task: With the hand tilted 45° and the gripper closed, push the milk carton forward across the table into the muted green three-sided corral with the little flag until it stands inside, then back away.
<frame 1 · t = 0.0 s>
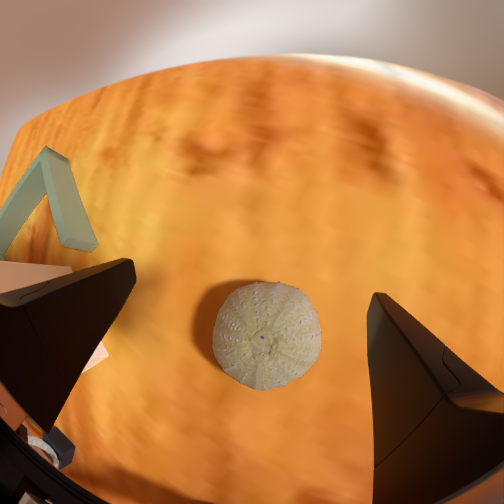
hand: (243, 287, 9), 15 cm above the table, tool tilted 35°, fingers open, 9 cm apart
watch: (64, 444, 26), on the table
sea urchin shell: (269, 332, 24), on the table
corral: (38, 260, 30), on the table
milk: (64, 329, 28), on the table
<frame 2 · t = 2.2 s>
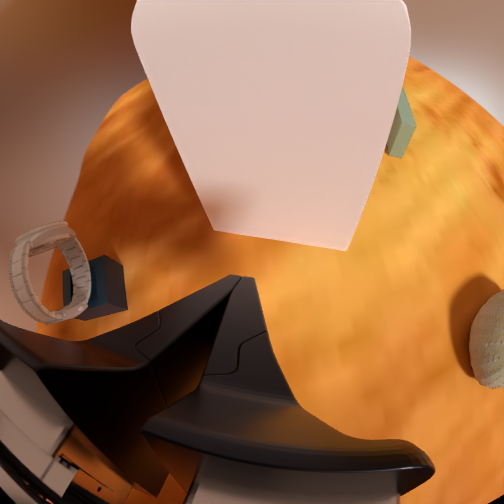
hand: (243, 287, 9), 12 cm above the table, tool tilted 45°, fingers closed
watch: (103, 293, 23), on the table
sea urchin shell: (493, 341, 17), on the table
corral: (298, 106, 28), on the table
milk: (289, 182, 25), on the table
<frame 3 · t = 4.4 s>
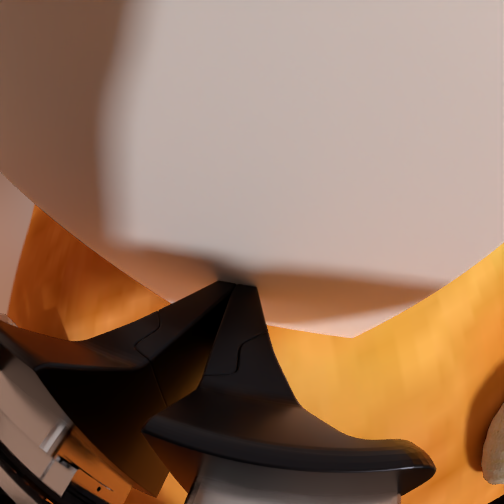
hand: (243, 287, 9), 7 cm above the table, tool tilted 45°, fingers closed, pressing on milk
milk: (277, 233, 18), on the table, touching gripper
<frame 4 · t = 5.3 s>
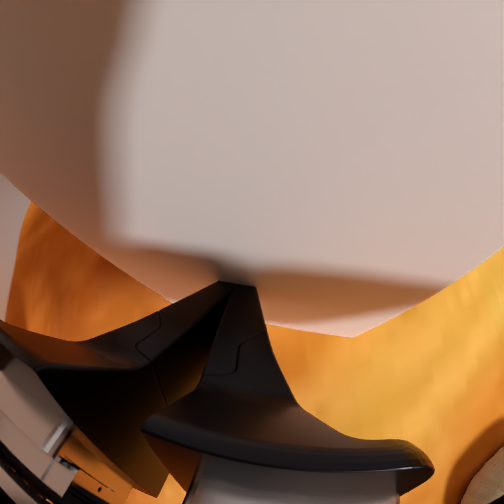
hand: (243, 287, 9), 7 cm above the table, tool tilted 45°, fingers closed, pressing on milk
sea urchin shell: (492, 479, 8), on the table
milk: (277, 232, 18), on the table, touching gripper
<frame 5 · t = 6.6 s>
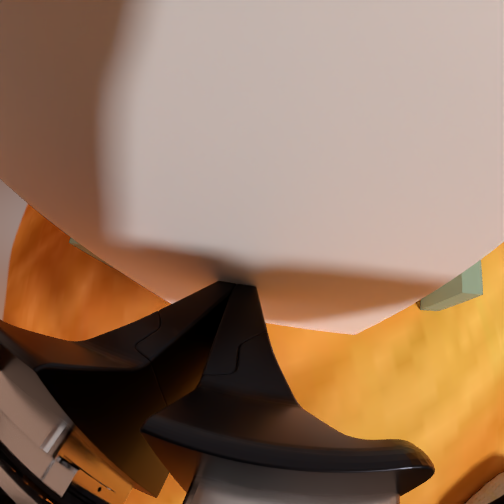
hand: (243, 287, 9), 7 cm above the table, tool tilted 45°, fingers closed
corral: (279, 205, 18), on the table
milk: (276, 230, 18), on the table, touching gripper
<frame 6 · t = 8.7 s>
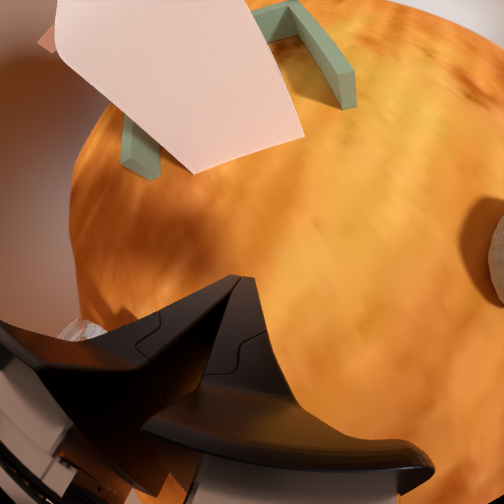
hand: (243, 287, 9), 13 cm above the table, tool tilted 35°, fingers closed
watch: (139, 353, 26), on the table
corral: (234, 99, 26), on the table
milk: (238, 111, 26), on the table
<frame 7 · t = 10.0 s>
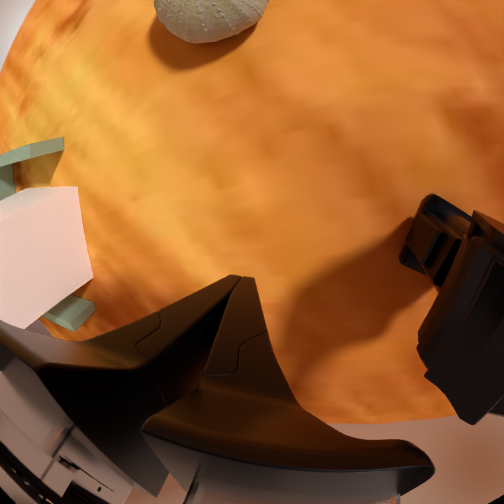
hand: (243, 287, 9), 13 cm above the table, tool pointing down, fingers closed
sea urchin shell: (219, 3, 15), on the table
corral: (48, 229, 28), on the table
milk: (56, 229, 28), on the table
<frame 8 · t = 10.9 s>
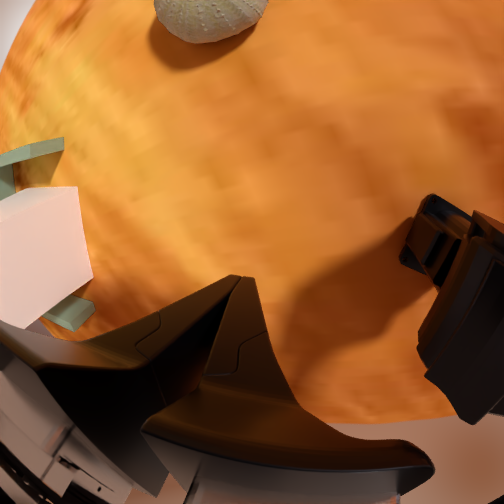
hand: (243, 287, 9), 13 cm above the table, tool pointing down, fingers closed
sea urchin shell: (218, 3, 15), on the table
corral: (48, 229, 28), on the table
milk: (56, 229, 28), on the table
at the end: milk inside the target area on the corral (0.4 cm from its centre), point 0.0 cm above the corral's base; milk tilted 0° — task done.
